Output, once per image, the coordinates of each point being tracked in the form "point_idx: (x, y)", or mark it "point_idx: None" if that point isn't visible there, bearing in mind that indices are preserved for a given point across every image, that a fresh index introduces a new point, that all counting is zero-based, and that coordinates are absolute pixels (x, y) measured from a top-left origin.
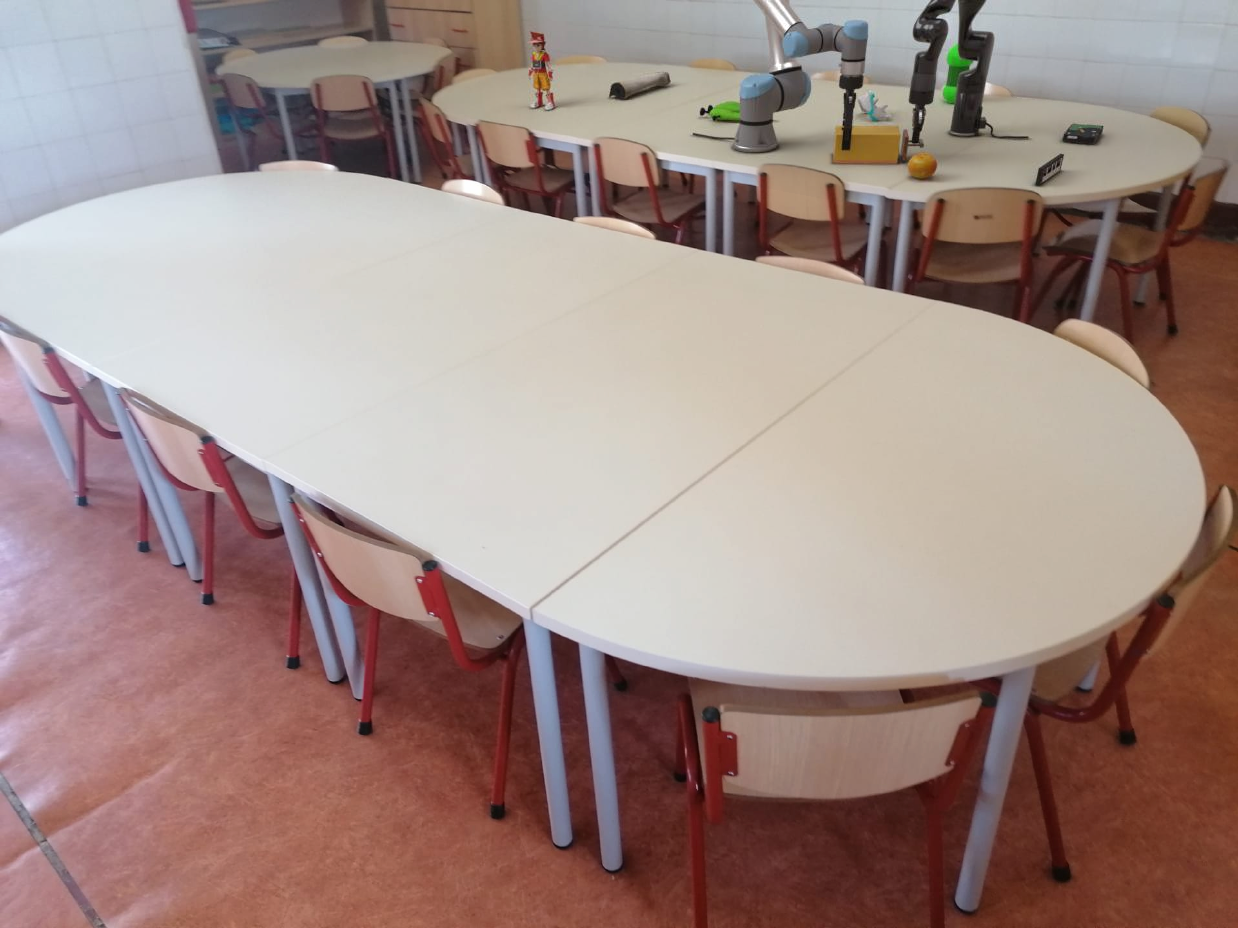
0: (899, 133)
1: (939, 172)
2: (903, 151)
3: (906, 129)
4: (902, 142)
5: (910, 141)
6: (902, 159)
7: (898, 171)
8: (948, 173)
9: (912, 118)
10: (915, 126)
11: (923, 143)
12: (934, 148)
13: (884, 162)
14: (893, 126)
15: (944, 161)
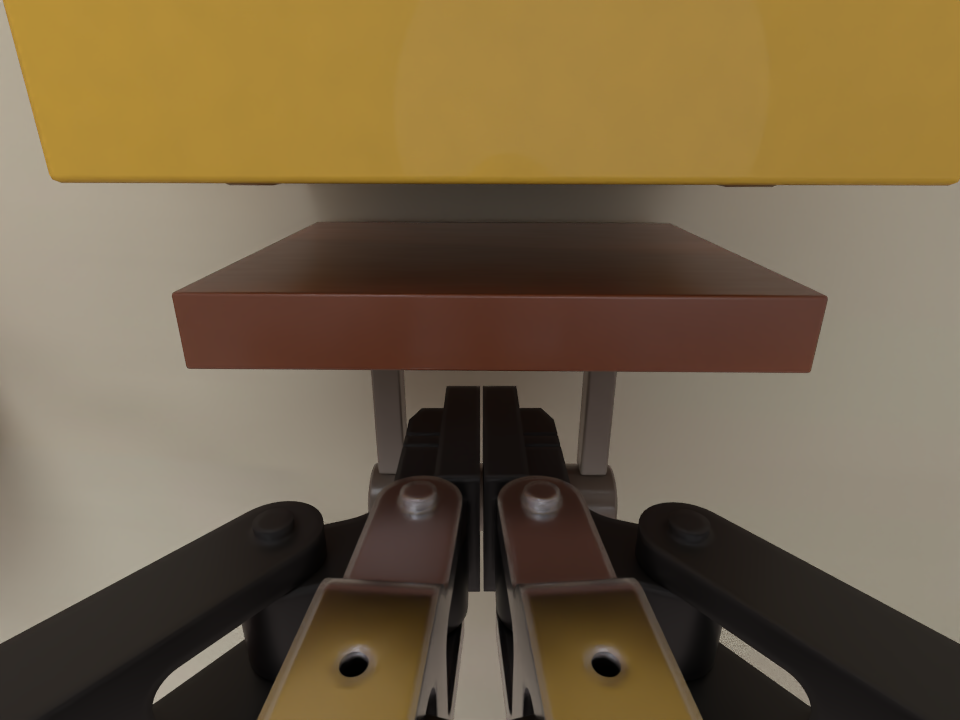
0: (159, 154)
1: (90, 531)
2: (281, 240)
3: (808, 362)
4: (599, 250)
5: (589, 372)
6: (316, 224)
7: (4, 155)
8: (81, 588)
9: (623, 684)
10: (55, 629)
11: None
12: (844, 559)
13: None
14: (948, 10)
15: None
